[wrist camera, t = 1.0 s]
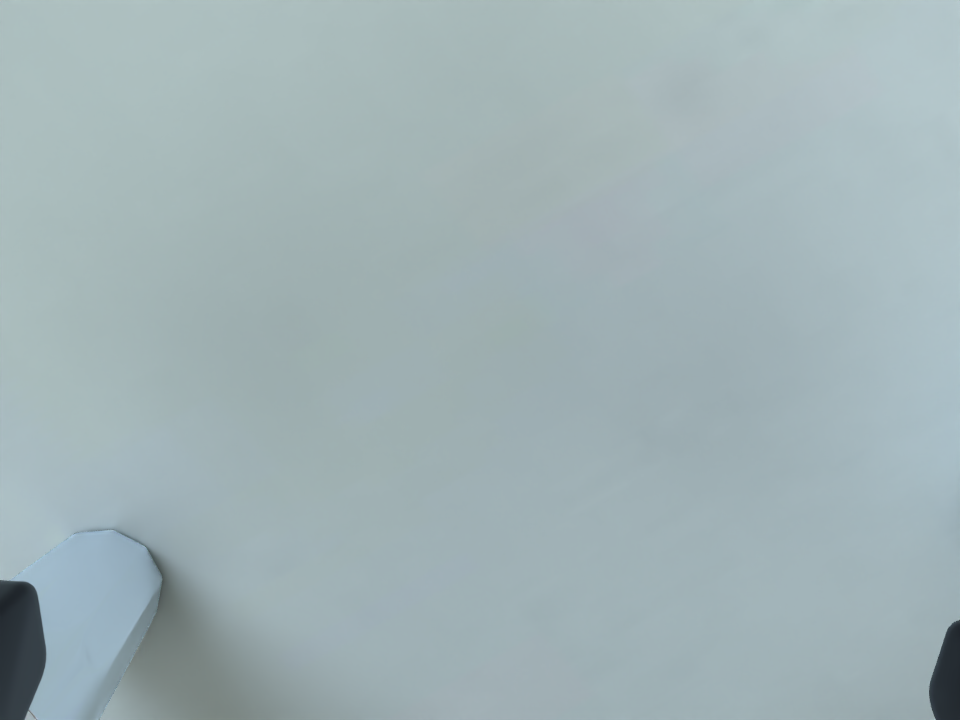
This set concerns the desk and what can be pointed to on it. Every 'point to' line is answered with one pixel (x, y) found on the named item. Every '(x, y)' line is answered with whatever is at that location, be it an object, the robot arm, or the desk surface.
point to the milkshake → (90, 619)
